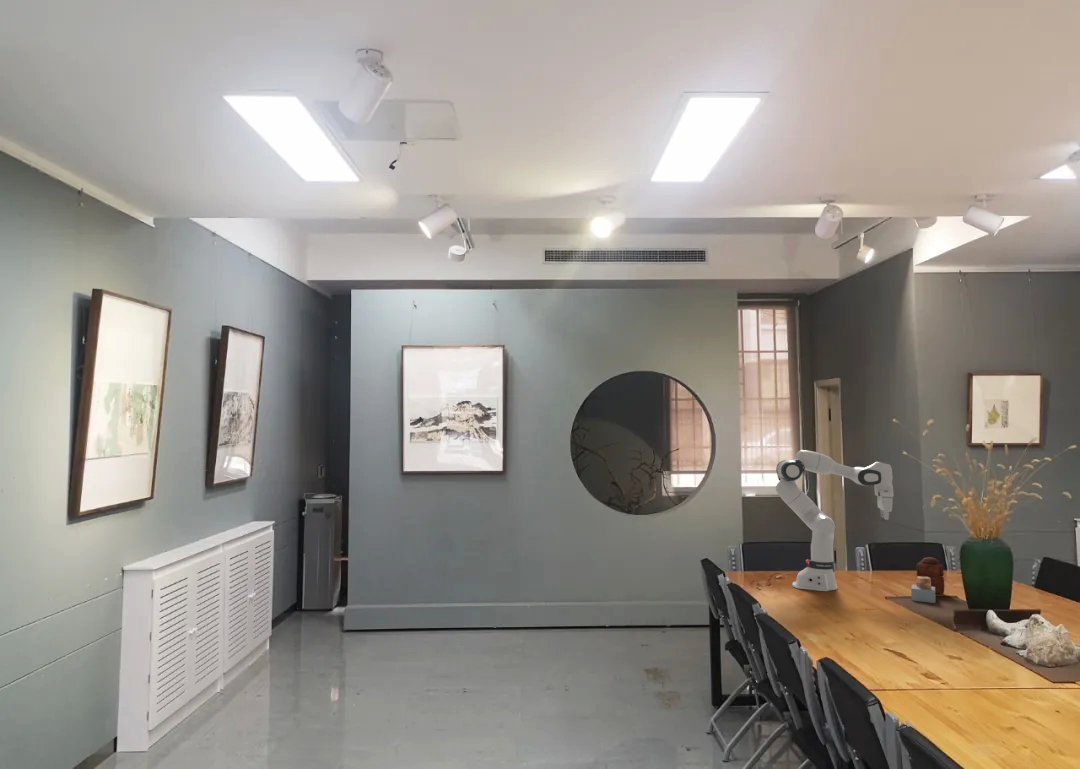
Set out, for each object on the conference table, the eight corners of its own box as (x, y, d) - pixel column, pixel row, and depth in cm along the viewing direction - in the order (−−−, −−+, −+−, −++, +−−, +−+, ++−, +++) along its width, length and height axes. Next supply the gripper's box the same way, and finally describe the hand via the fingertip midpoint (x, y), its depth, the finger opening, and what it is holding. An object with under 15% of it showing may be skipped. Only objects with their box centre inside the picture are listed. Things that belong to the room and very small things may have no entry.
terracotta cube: (919, 588, 325) (919, 578, 325) (916, 586, 330) (916, 576, 330) (931, 589, 324) (930, 578, 324) (927, 586, 329) (927, 576, 329)
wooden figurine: (941, 591, 342) (940, 556, 343) (945, 594, 336) (943, 558, 337) (916, 590, 346) (914, 555, 347) (919, 593, 340) (917, 557, 341)
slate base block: (911, 600, 325) (911, 588, 326) (912, 596, 334) (912, 584, 334) (935, 603, 320) (934, 591, 320) (935, 599, 328) (935, 586, 329)
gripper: (873, 490, 361) (874, 515, 360) (880, 493, 342) (881, 520, 341) (886, 490, 359) (887, 516, 358) (894, 494, 340) (895, 521, 339)
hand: (884, 518), depth 350 cm, fingers open, 8 cm apart
